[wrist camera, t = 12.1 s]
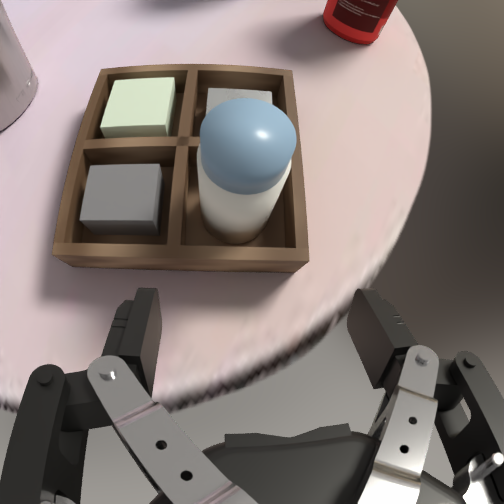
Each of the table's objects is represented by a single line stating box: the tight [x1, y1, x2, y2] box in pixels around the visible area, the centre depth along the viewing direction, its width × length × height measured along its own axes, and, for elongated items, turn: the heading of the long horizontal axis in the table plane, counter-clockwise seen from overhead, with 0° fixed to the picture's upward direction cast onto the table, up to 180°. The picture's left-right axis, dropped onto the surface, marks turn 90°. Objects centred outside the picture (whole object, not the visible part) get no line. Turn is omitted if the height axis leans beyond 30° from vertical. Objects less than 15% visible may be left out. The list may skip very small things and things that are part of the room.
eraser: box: [80, 164, 165, 236], centre depth 21 cm, size 5×4×3 cm
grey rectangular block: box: [206, 88, 272, 115], centre depth 24 cm, size 5×4×2 cm
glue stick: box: [197, 98, 296, 244], centre depth 18 cm, size 5×5×10 cm
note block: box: [100, 77, 176, 139], centre depth 23 cm, size 5×5×3 cm
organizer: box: [52, 64, 309, 273], centre depth 23 cm, size 16×16×4 cm
